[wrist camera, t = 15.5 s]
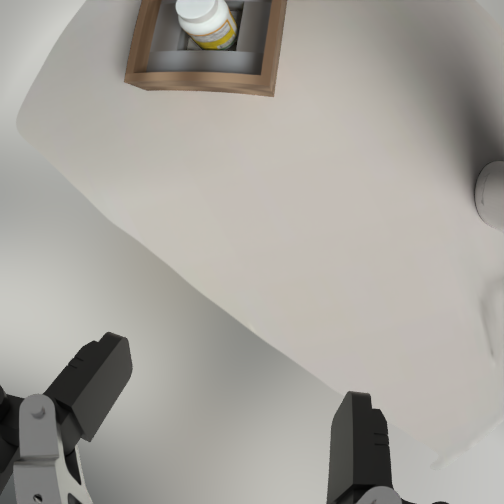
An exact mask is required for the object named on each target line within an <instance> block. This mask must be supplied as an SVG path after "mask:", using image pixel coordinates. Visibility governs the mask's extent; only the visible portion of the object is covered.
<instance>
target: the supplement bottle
mask: <svg viewBox="0 0 504 504" xmlns="http://www.w3.org/2000/svg"><path fill="white" fill-rule="evenodd" d="M176 11H177V13H178V20H179V24H180V26H181V27H182V29H183V30H184V31H185V32H186V33H187V34H188V35H189V36H190V37H191V38H192V39H193V40H194V41H195V42H196V43H197V44H198V45H199V46H200V47H201V48H202V49H203V50H214V51H224V50H226V49H228V48H230V47H231V46H232V45H233V44H234V43H235V42H236V40H237V38H238V34H239V30H238V26H237V24H236V22H235V20H234V18H233V16H232V14H231V12H230V9H229V7H228V5H227V4H226V2H225V1H224V0H177V2H176Z"/></svg>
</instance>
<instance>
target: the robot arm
mask: <svg viewBox="0 0 504 504" xmlns="http://www.w3.org/2000/svg"><path fill="white" fill-rule="evenodd" d="M475 202H476V207H477V210H478V213H479V215H480V217H481V218H482V220H483V221H484V222H485V223H486V224H487V225H489V226H491V227H493V228H495V229H497V230H499V231H501V232H503V233H504V161H494V162H491V163H489V164H488V165H487V166H485V167H484V168H483V170H482V171H481V173H480V175H479V177H478V179H477V183H476V188H475ZM131 373H132V360H131V354H130V348H129V342H128V339H127V338H125V337H122V336H120V335H116V334H114V333H111V332H107V333H106V334H105V335H104V336H103V337H102V338H101V339H100V341H99V342H96V341H92V342H90V343H88V344H87V345H85V346H83V347H82V348H81V349H80V350H79V352H78V353H77V354H76V355H75V357H74V358H73V359H72V360H71V361H70V362H69V363H68V366H66V367H65V368H64V369H63V371H62V372H61V373H60V374H59V375H58V377H57V378H56V379H55V380H54V382H53V383H52V384H51V385H50V386H49V388H48V389H47V390H46V391H45V392H44V393H43V394H33V395H30V396H28V397H27V398H25V399H24V398H20V397H15V396H12V395H8V394H6V393H5V392H4V390H3V388H2V387H1V386H0V495H1V493H2V491H3V489H4V487H5V485H6V484H7V482H8V480H9V478H10V476H11V475H12V473H13V471H14V482H15V492H16V499H17V504H93V502H92V500H91V497H90V495H89V494H88V491H87V489H86V486H85V481H84V477H83V472H82V467H81V462H80V457H79V451H78V446H77V442H78V441H79V440H80V438H82V439H84V440H87V441H88V442H91V440H92V438H93V437H94V435H95V434H96V432H97V430H98V429H99V427H100V425H101V424H102V422H103V421H104V419H105V417H106V415H107V414H108V413H109V411H110V409H111V408H112V406H113V404H114V403H115V401H116V400H117V398H118V397H119V395H120V393H121V392H122V390H123V389H124V387H125V386H126V384H127V382H128V381H129V379H130V377H131ZM388 445H389V438H388V429H387V421H386V419H385V417H384V415H383V414H382V412H381V410H380V409H372V404H371V396H370V394H369V393H361V392H353V391H348V392H347V394H346V396H345V398H344V399H343V401H342V403H341V405H340V407H339V408H338V410H337V412H336V414H335V416H334V418H333V421H332V426H331V442H330V462H329V478H328V493H327V504H415V503H411V502H408V501H405V500H403V499H402V498H400V496H399V494H398V493H397V492H396V491H395V490H394V488H393V485H392V475H391V461H390V449H389V446H388ZM433 504H448V503H446V502H435V503H433Z"/></svg>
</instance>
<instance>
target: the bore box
mask: <svg viewBox="0 0 504 504" xmlns="http://www.w3.org/2000/svg"><path fill="white" fill-rule="evenodd" d="M224 1H225V2H226V4H227V5H228V7H229V9H230V11H243V14H242V19H241V25H240V31H239V36H238V42H237V48H236V51H214V50H187V44H188V39H189V35H188V34H187V33H186V32H185V31H184V30H183V29H182V27H181V26H180V24H179V20H178V13H177V11H176V2H177V0H142V3H141V6H140V10H139V14H138V18H137V22H136V26H135V30H134V34H133V39H132V43H131V48H130V53H129V58H128V63H127V68H126V74H125V80H124V82H125V83H128V84H131V85H133V86H136V87H139V88H142V89H144V90H147V91H149V90H183V91H211V92H227V93H240V94H251V95H260V96H269V97H274V92H275V84H276V77H277V70H278V63H279V56H280V48H281V41H282V34H283V27H284V20H285V13H286V5H287V0H224Z"/></svg>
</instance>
